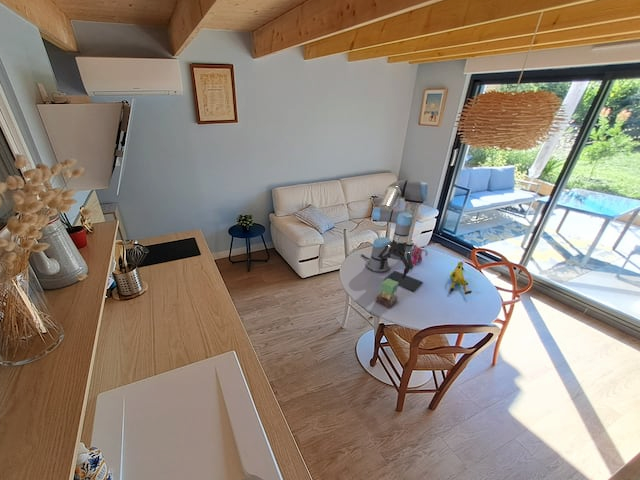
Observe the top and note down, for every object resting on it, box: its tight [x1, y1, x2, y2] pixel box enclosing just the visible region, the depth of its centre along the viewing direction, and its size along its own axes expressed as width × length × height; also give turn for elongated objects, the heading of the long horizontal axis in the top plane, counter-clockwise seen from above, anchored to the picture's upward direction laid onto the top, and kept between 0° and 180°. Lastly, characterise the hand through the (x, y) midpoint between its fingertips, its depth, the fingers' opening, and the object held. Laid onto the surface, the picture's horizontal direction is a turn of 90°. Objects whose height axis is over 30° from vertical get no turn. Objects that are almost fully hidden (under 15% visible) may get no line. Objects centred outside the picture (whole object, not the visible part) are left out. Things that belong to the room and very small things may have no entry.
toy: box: [411, 239, 429, 265], centre depth 215 cm, size 9×26×30 cm, turn 33°
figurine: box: [449, 261, 472, 295], centre depth 192 cm, size 11×11×30 cm
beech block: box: [381, 291, 394, 300], centre depth 174 cm, size 5×5×4 cm
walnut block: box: [375, 291, 398, 309], centre depth 177 cm, size 9×9×4 cm
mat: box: [384, 270, 423, 292], centre depth 196 cm, size 20×14×1 cm
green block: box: [380, 277, 399, 295], centre depth 172 cm, size 7×7×6 cm
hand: (392, 273), depth 167 cm, fingers open, 13 cm apart
